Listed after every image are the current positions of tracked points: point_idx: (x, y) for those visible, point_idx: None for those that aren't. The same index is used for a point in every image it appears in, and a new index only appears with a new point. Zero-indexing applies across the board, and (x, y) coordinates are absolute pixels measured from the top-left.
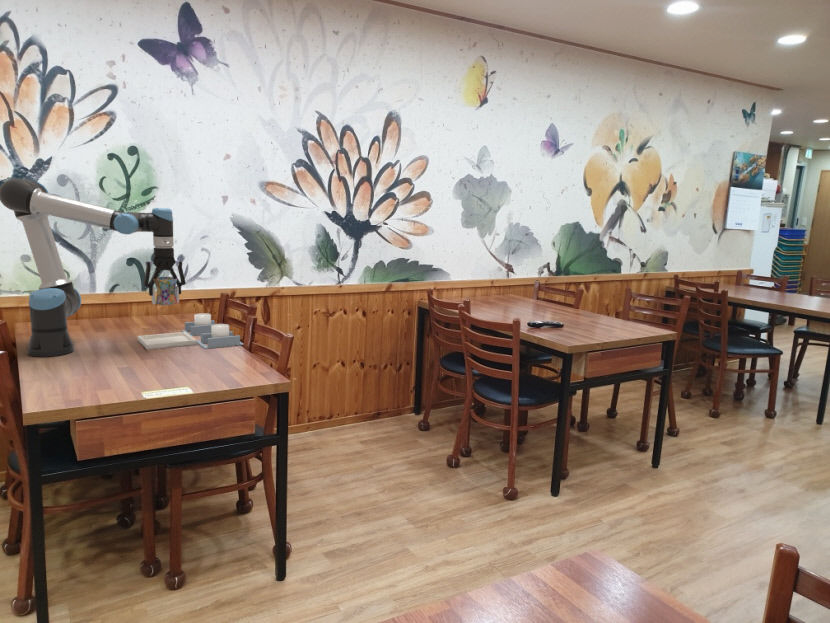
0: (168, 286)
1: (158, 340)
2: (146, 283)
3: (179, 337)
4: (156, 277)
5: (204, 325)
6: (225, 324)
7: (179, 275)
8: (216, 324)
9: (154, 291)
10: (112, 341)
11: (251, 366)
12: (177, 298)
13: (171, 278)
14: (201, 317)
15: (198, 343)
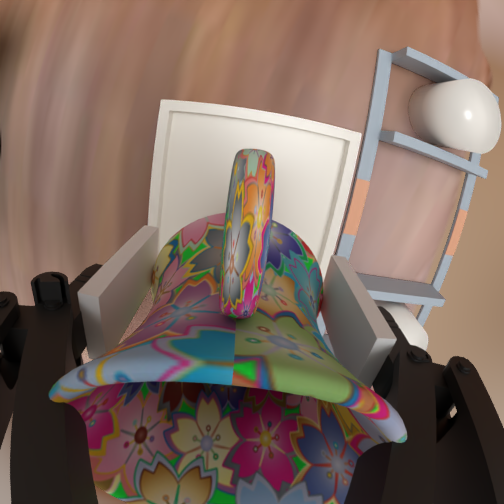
0: (220, 461)
1: (225, 163)
2: (12, 372)
3: (319, 159)
4: (84, 470)
5: (443, 154)
6: (422, 344)
7: (480, 442)
8: (404, 333)
9: (115, 339)
10: (94, 74)
11: None
12: (327, 322)
13: (370, 423)
14: (459, 143)
15: None
